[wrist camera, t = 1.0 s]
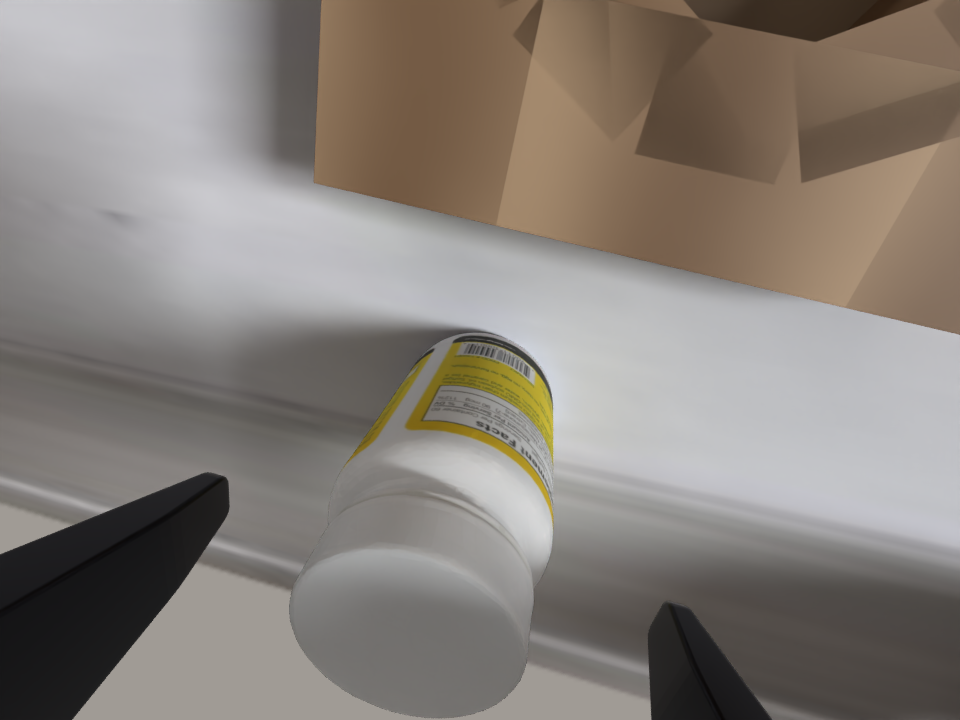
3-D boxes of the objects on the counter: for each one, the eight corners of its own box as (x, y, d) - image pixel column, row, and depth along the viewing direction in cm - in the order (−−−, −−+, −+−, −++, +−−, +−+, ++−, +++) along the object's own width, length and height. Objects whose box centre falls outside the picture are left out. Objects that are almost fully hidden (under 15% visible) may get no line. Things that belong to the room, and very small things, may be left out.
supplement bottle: (444, 469, 16) (344, 740, 9) (387, 355, 15) (204, 560, 7) (573, 438, 15) (591, 726, 7) (525, 308, 13) (482, 499, 6)
